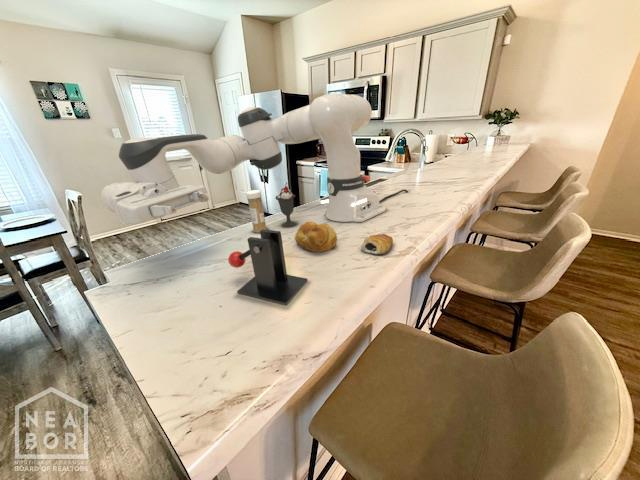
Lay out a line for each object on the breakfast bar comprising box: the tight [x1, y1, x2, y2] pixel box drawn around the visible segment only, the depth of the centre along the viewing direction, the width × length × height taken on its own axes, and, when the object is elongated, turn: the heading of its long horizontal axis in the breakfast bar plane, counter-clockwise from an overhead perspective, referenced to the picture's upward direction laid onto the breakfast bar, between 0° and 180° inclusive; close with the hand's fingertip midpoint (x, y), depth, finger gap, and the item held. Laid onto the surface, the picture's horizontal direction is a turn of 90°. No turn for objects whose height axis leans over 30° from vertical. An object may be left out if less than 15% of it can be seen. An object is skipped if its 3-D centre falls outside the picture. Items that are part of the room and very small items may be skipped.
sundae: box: [275, 181, 297, 228], centre depth 89 cm, size 7×7×15 cm
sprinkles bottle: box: [245, 189, 268, 234], centre depth 86 cm, size 5×5×14 cm
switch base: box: [236, 229, 309, 307], centre depth 54 cm, size 12×9×13 cm
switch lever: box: [227, 234, 276, 269], centre depth 55 cm, size 13×4×4 cm
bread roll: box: [294, 221, 338, 254], centre depth 73 cm, size 13×10×8 cm
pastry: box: [360, 233, 394, 255], centre depth 70 cm, size 9×7×4 cm
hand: (190, 203), depth 60 cm, fingers open, 8 cm apart
